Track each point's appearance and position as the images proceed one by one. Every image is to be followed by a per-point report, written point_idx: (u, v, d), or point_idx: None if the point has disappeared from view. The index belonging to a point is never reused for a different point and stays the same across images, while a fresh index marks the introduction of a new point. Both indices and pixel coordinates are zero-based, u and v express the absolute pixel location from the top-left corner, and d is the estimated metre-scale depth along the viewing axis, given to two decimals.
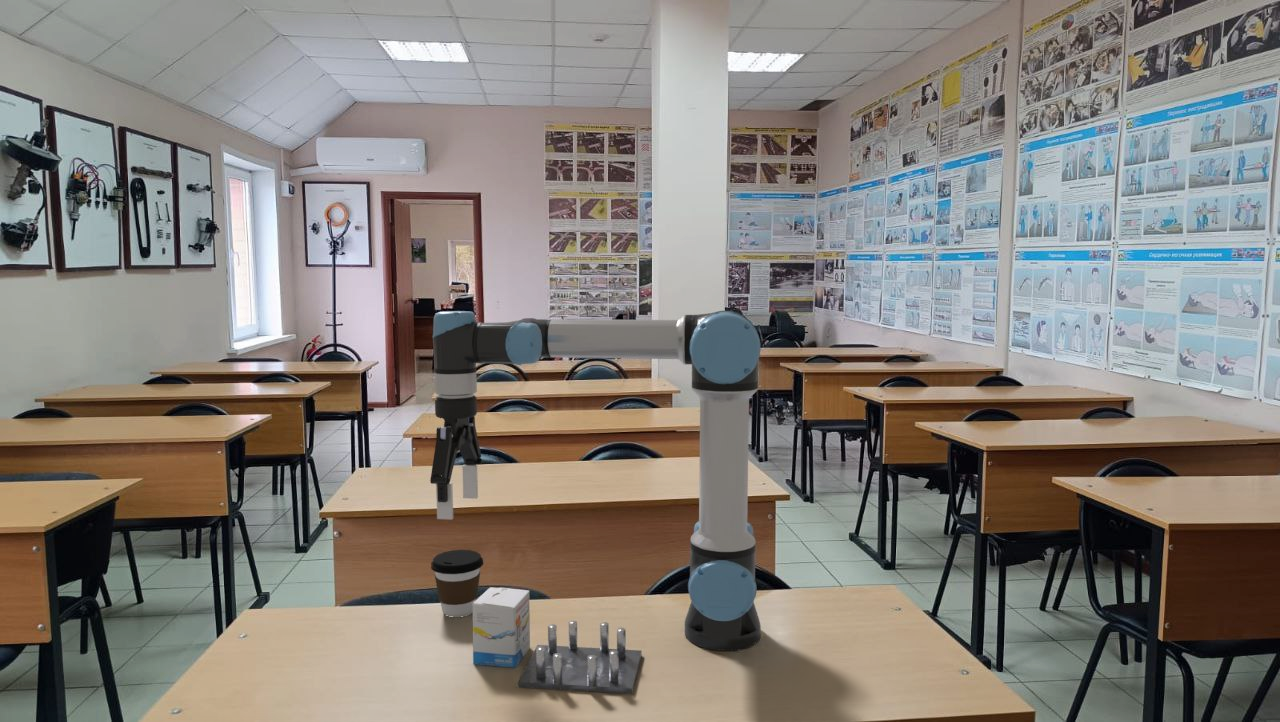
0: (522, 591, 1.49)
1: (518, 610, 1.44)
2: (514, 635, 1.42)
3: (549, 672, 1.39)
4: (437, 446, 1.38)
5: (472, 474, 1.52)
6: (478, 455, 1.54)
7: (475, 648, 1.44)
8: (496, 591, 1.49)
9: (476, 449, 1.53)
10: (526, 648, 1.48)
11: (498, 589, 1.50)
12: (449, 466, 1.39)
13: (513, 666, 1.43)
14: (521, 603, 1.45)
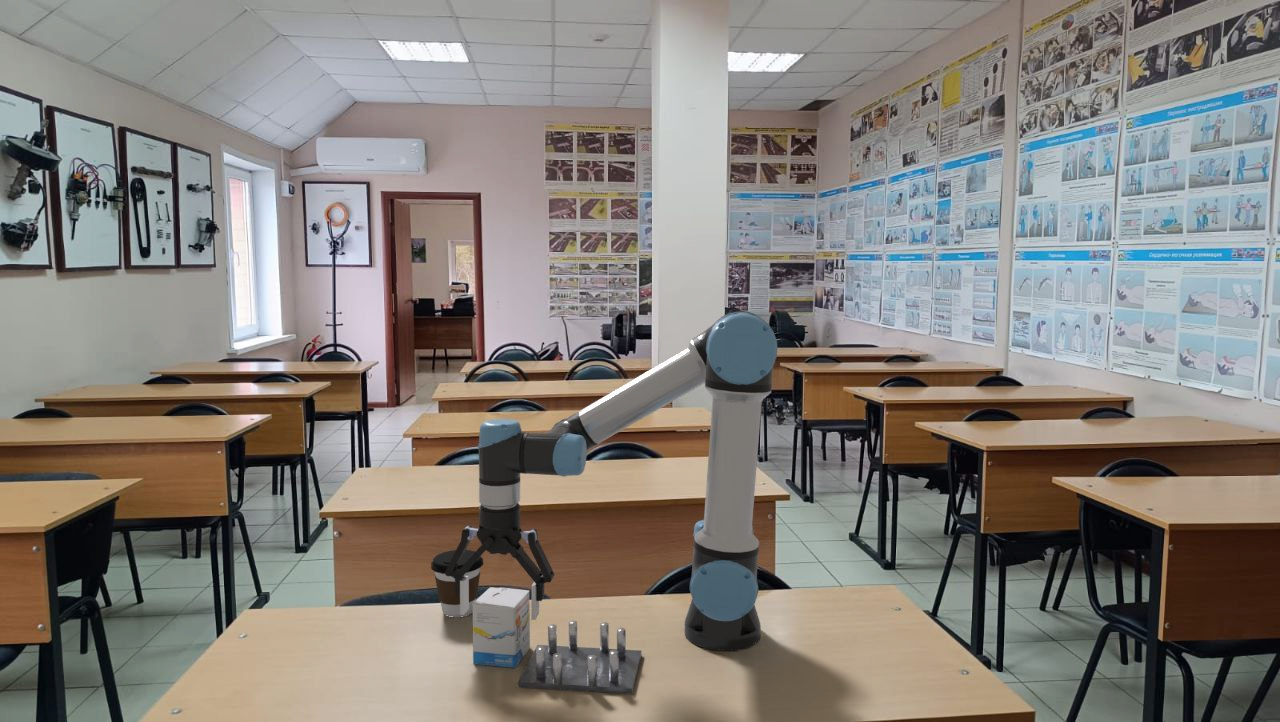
0: (522, 591, 1.49)
1: (518, 610, 1.44)
2: (514, 635, 1.42)
3: (549, 672, 1.39)
4: None
5: None
6: (544, 577, 1.44)
7: (475, 648, 1.44)
8: (496, 591, 1.49)
9: None
10: (526, 648, 1.48)
11: (498, 589, 1.50)
12: (463, 565, 1.46)
13: (513, 666, 1.43)
14: (521, 603, 1.45)
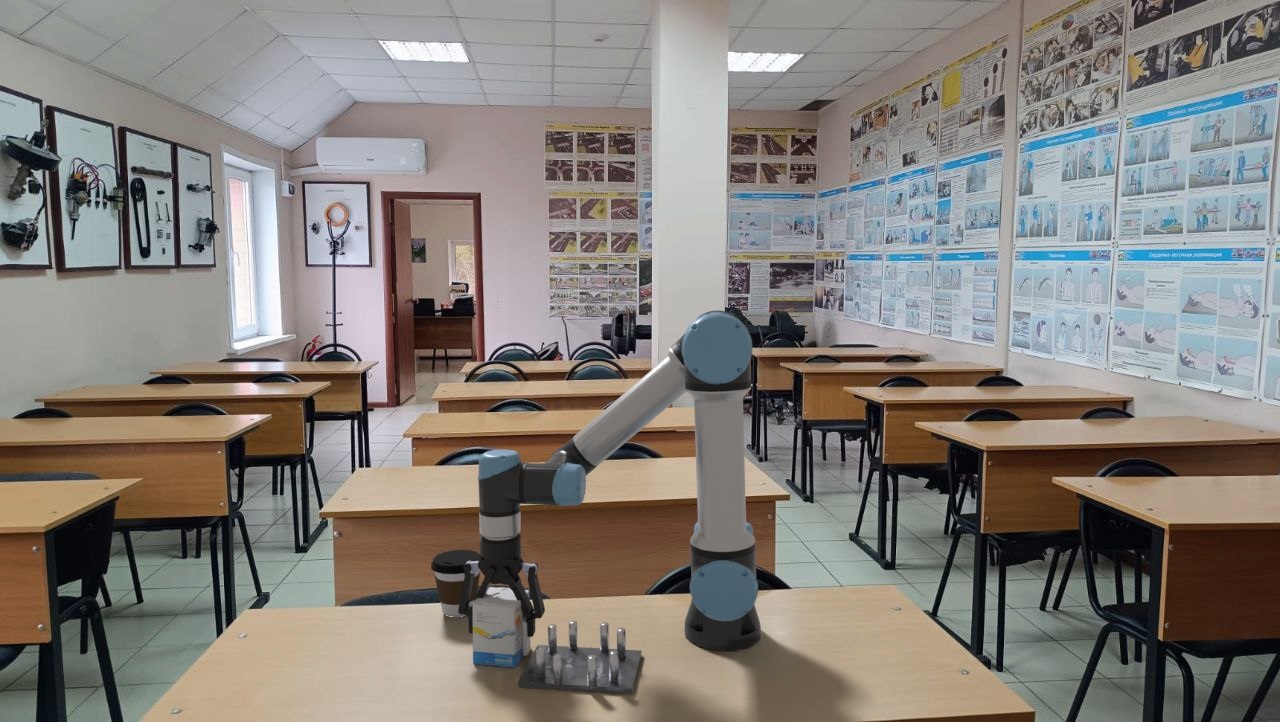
0: None
1: (518, 610, 1.44)
2: (514, 634, 1.42)
3: (549, 672, 1.39)
4: None
5: None
6: (535, 613, 1.45)
7: (475, 648, 1.44)
8: (496, 591, 1.49)
9: None
10: None
11: (498, 589, 1.50)
12: None
13: (513, 666, 1.43)
14: None
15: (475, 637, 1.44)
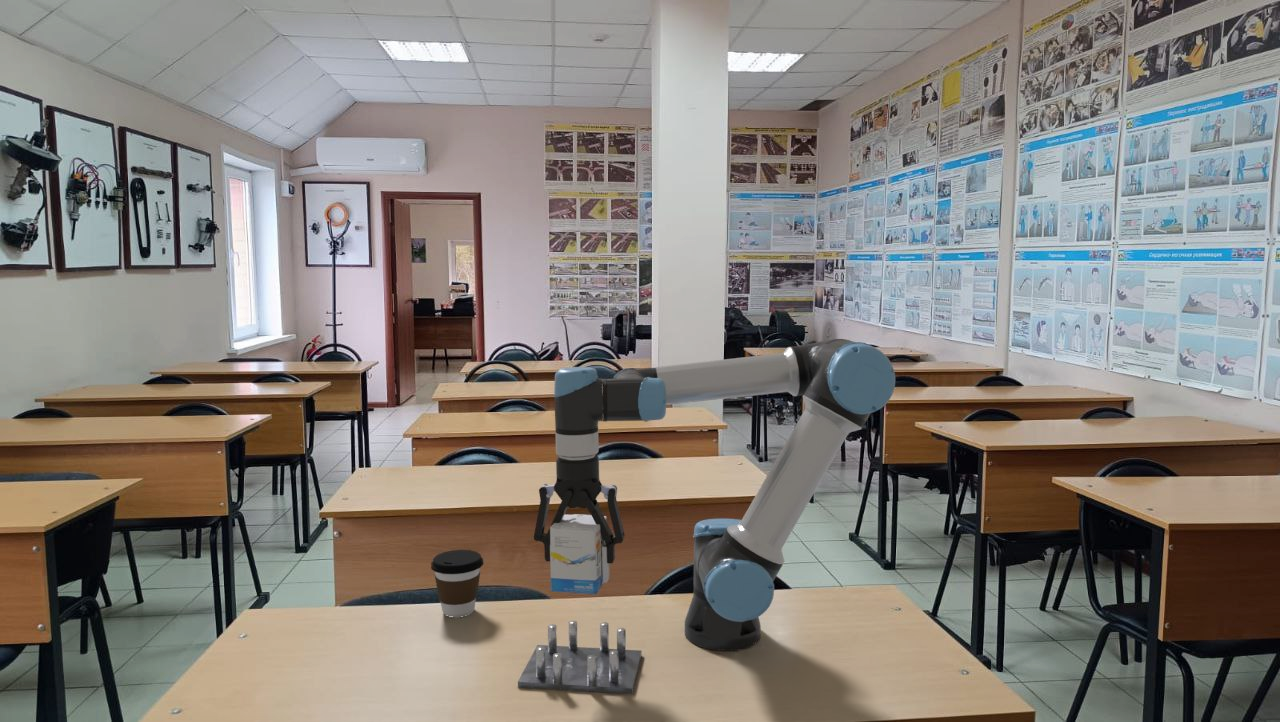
0: None
1: (598, 534, 1.36)
2: (595, 559, 1.35)
3: (549, 672, 1.39)
4: None
5: None
6: (615, 537, 1.38)
7: (553, 574, 1.37)
8: (572, 517, 1.41)
9: None
10: None
11: (573, 515, 1.42)
12: None
13: (594, 592, 1.36)
14: None
15: (553, 563, 1.36)
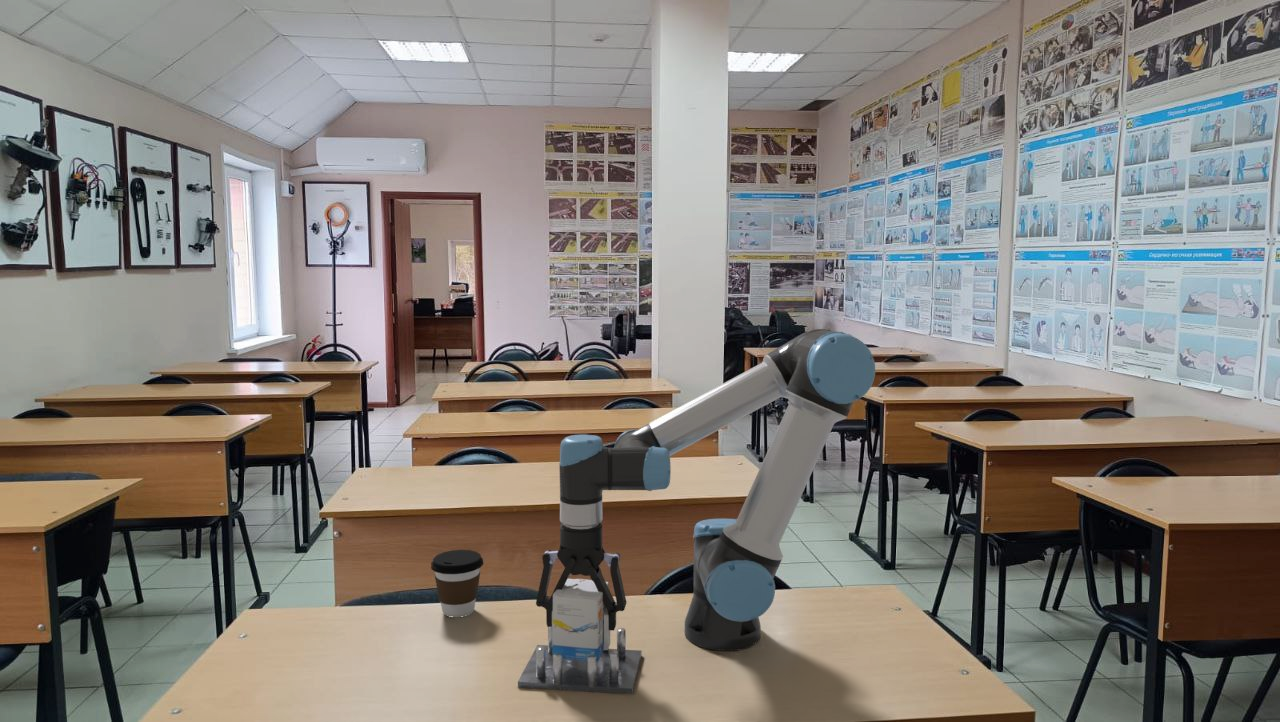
0: None
1: (600, 602, 1.37)
2: (597, 628, 1.36)
3: (549, 672, 1.39)
4: None
5: None
6: (617, 605, 1.39)
7: (555, 641, 1.38)
8: (574, 582, 1.42)
9: None
10: None
11: (576, 580, 1.43)
12: (552, 593, 1.40)
13: None
14: (602, 595, 1.39)
15: (555, 630, 1.37)
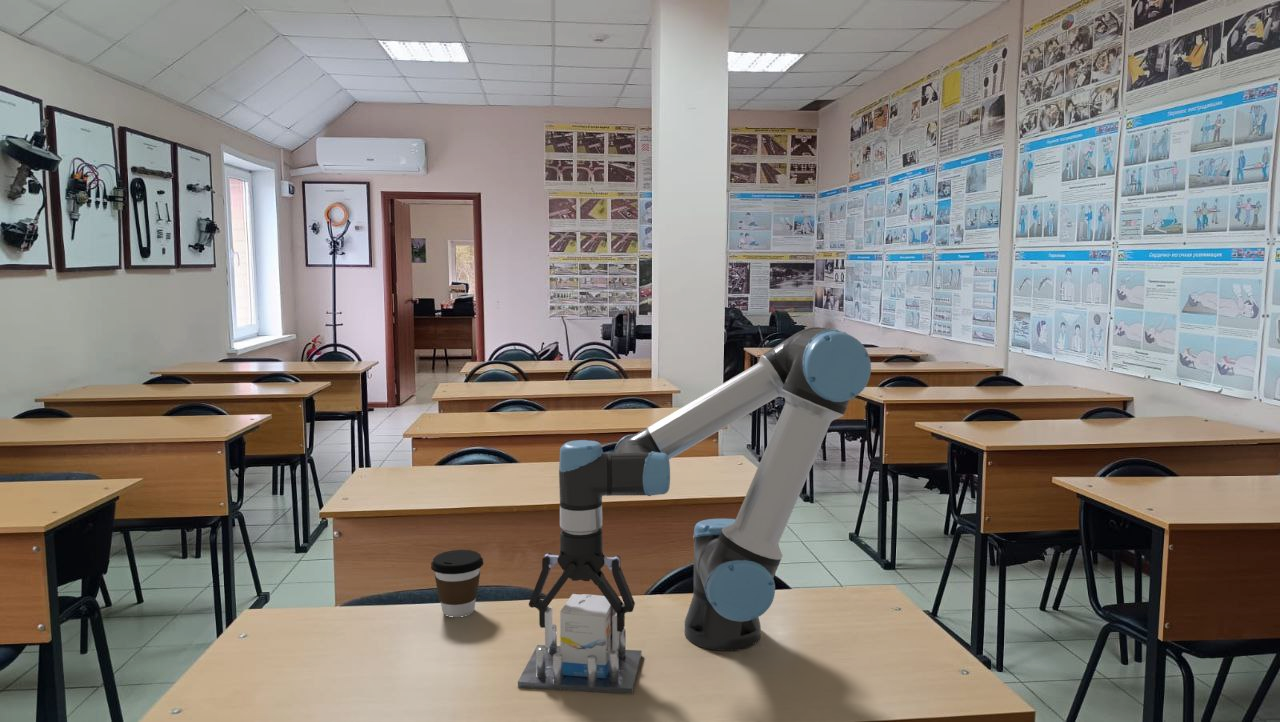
0: None
1: (608, 618, 1.37)
2: (605, 644, 1.36)
3: (549, 672, 1.39)
4: None
5: None
6: (625, 607, 1.38)
7: (563, 658, 1.38)
8: (581, 598, 1.42)
9: None
10: None
11: (582, 596, 1.43)
12: (547, 595, 1.40)
13: (604, 676, 1.37)
14: (609, 611, 1.39)
15: (563, 647, 1.37)
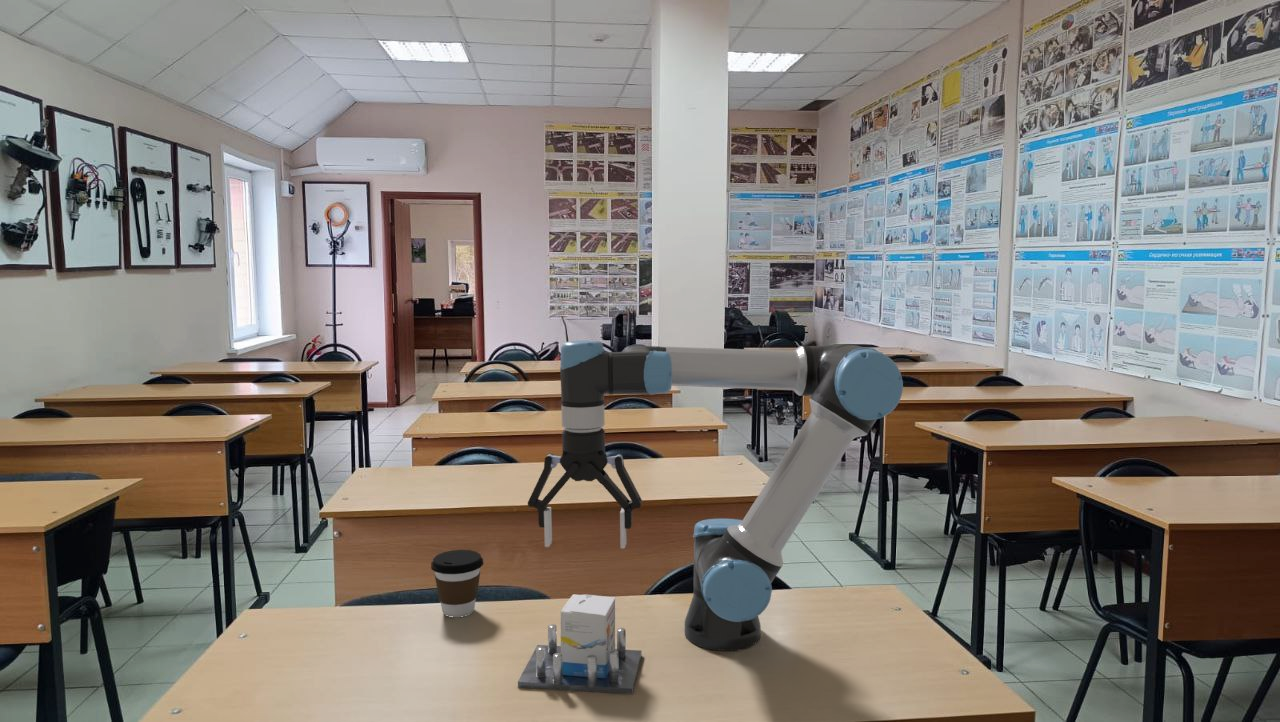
0: (608, 598, 1.43)
1: (608, 618, 1.38)
2: (605, 644, 1.36)
3: (549, 672, 1.39)
4: None
5: None
6: (633, 503, 1.38)
7: (563, 658, 1.38)
8: (581, 598, 1.42)
9: (629, 496, 1.38)
10: None
11: (582, 596, 1.44)
12: (547, 494, 1.39)
13: (604, 677, 1.37)
14: (610, 611, 1.39)
15: (563, 647, 1.37)
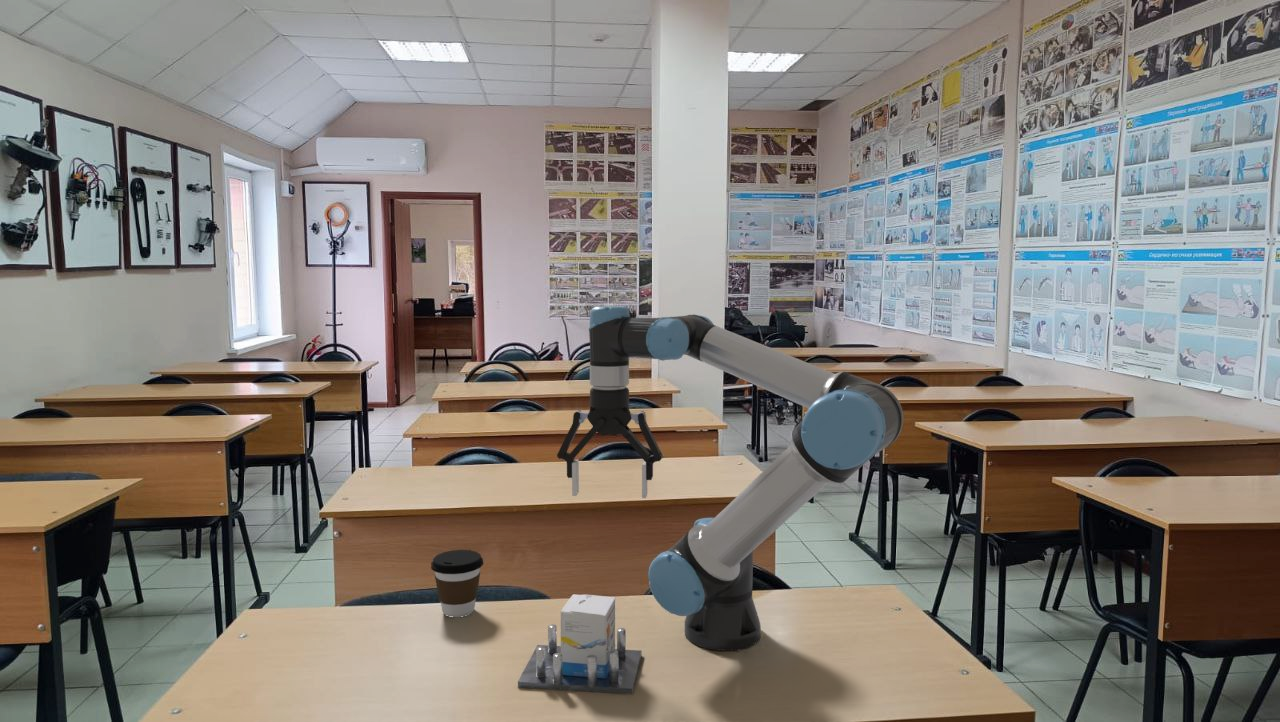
0: (608, 598, 1.43)
1: (608, 618, 1.38)
2: (605, 644, 1.36)
3: (549, 672, 1.39)
4: None
5: (642, 472, 1.51)
6: (654, 457, 1.49)
7: (563, 658, 1.38)
8: (581, 598, 1.42)
9: (650, 449, 1.50)
10: None
11: (582, 596, 1.44)
12: (575, 447, 1.51)
13: (604, 677, 1.37)
14: (610, 611, 1.39)
15: (563, 647, 1.37)
